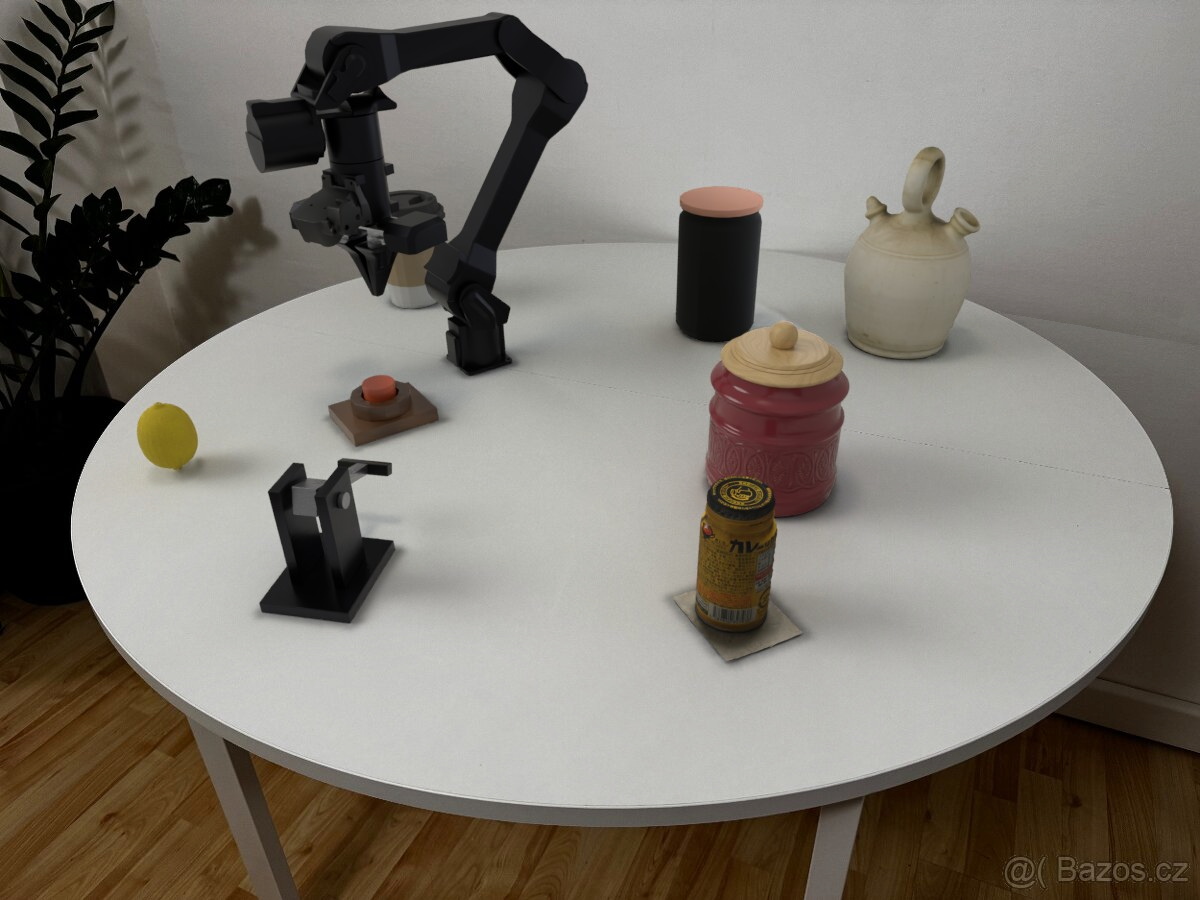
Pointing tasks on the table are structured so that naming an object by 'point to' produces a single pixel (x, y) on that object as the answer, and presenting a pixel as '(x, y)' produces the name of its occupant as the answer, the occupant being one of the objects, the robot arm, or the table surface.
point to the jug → (909, 269)
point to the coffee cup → (409, 269)
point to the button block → (382, 414)
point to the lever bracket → (323, 552)
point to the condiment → (737, 570)
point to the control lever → (309, 487)
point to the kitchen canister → (778, 414)
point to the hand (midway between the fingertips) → (378, 295)
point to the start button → (379, 388)
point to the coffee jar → (717, 262)
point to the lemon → (167, 436)
